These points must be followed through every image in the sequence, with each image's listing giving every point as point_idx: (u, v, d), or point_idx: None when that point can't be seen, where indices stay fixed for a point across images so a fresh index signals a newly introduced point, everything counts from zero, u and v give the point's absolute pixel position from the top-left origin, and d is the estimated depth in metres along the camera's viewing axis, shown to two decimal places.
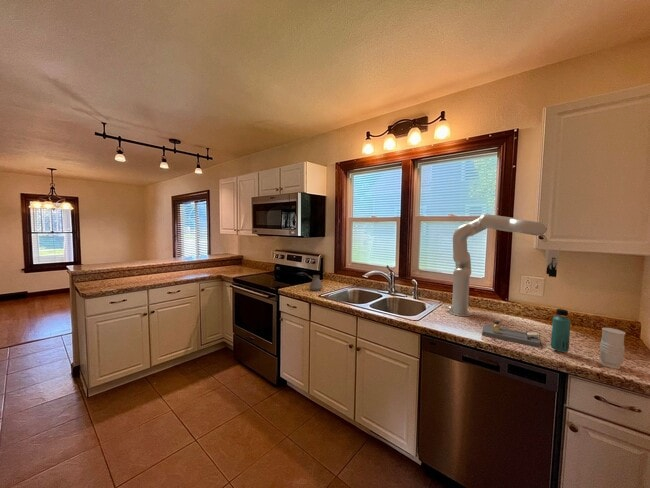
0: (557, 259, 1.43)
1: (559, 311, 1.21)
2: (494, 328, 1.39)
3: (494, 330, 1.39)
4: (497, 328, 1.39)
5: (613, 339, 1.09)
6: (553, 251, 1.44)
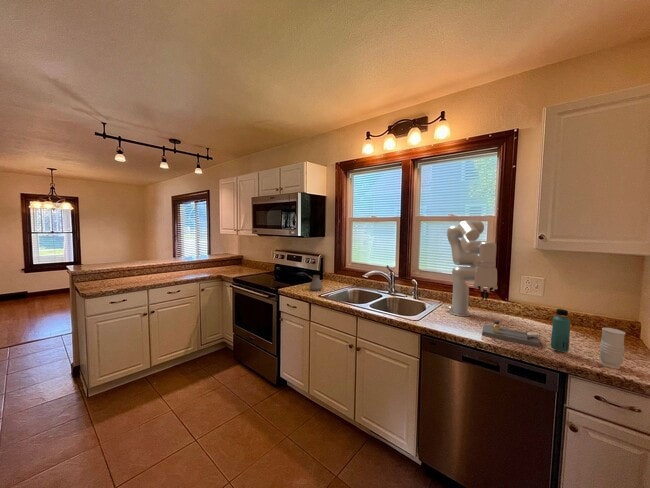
0: None
1: (559, 311, 1.21)
2: (494, 328, 1.39)
3: (494, 330, 1.39)
4: (497, 328, 1.39)
5: (613, 339, 1.09)
6: (496, 272, 1.38)
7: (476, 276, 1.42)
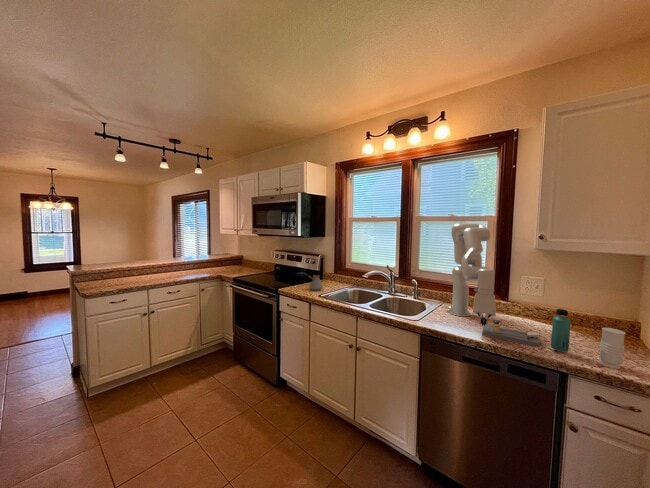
0: None
1: (559, 311, 1.21)
2: (494, 328, 1.39)
3: (494, 330, 1.39)
4: (497, 328, 1.39)
5: (613, 339, 1.09)
6: None
7: (475, 303, 1.42)
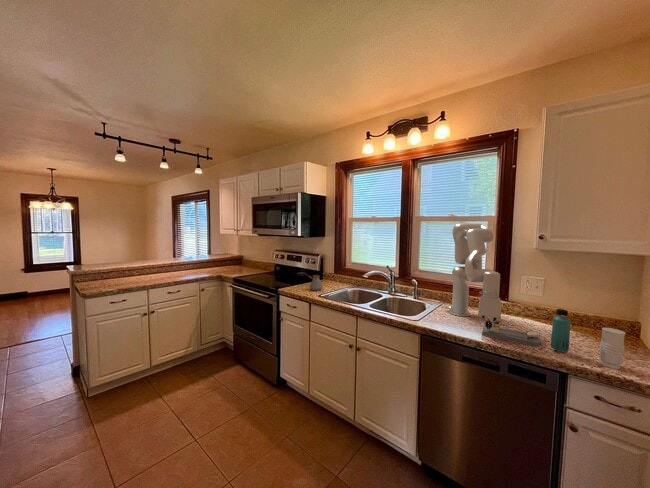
0: None
1: (559, 311, 1.21)
2: (494, 328, 1.39)
3: (494, 330, 1.39)
4: (497, 328, 1.39)
5: (613, 339, 1.09)
6: (500, 302, 1.38)
7: (480, 306, 1.41)
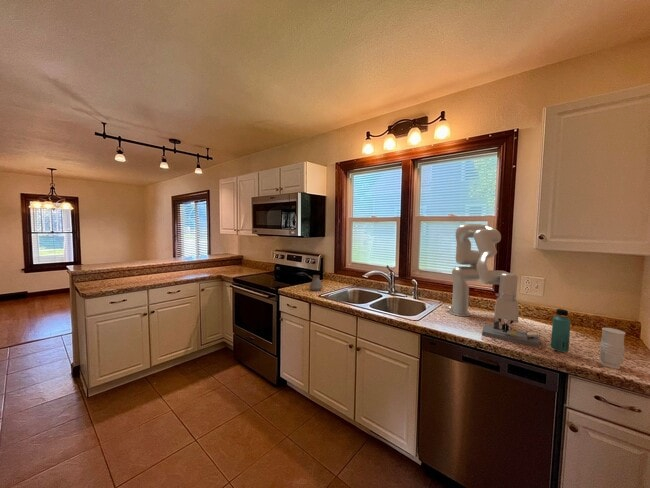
0: None
1: (559, 311, 1.21)
2: (511, 331, 1.35)
3: (511, 333, 1.35)
4: (514, 331, 1.34)
5: (613, 339, 1.09)
6: None
7: (496, 308, 1.37)
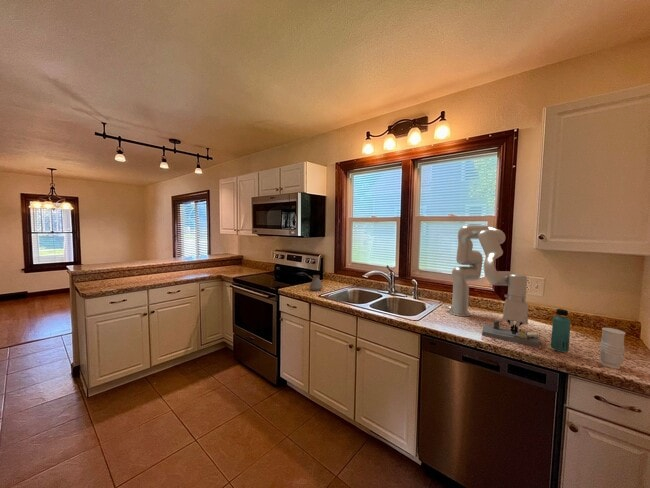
0: None
1: (559, 311, 1.21)
2: (520, 333, 1.33)
3: (520, 335, 1.33)
4: (524, 333, 1.32)
5: (613, 339, 1.09)
6: (527, 306, 1.31)
7: (505, 310, 1.35)
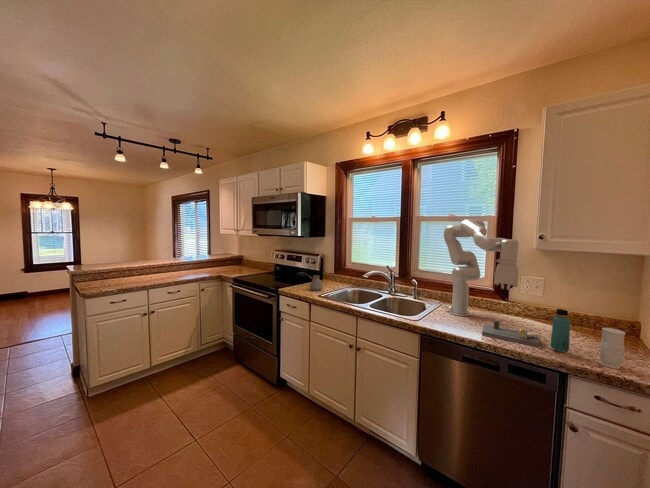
0: None
1: (559, 311, 1.21)
2: (520, 333, 1.33)
3: (520, 335, 1.33)
4: (523, 333, 1.32)
5: (613, 339, 1.09)
6: None
7: (497, 274, 1.41)
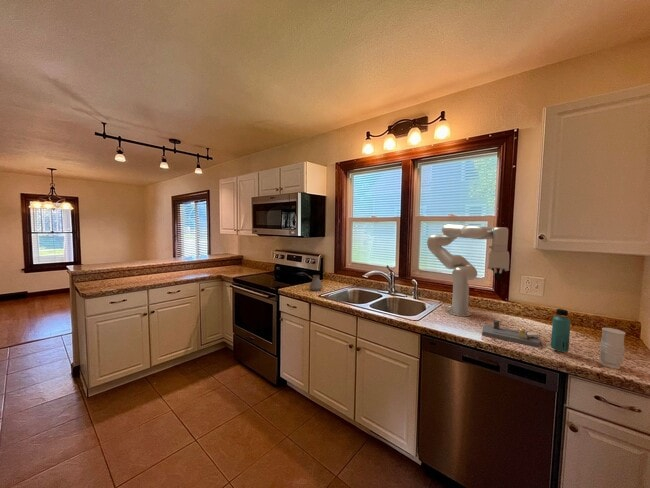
0: None
1: (559, 311, 1.21)
2: (520, 333, 1.33)
3: (520, 335, 1.33)
4: (523, 333, 1.32)
5: (613, 339, 1.09)
6: (508, 254, 1.51)
7: (490, 259, 1.54)
